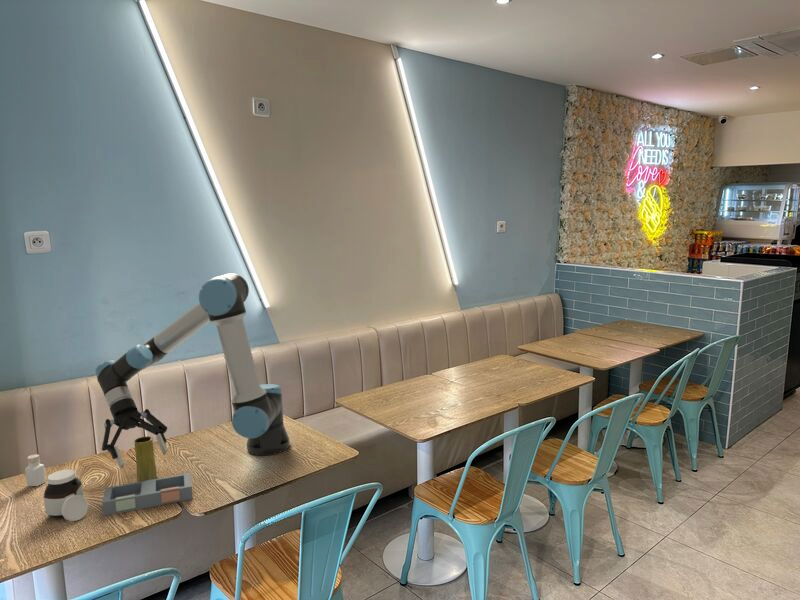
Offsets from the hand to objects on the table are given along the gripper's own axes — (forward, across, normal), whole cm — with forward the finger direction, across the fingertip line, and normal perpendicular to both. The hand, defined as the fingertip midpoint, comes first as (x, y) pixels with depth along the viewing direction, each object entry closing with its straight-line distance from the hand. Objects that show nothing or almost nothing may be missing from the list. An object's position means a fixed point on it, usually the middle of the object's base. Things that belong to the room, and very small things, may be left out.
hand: (144, 459), depth 184 cm
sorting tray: (+14, +4, +3) cm, 15 cm away
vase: (+6, 0, -6) cm, 8 cm away
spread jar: (+8, +23, -4) cm, 25 cm away
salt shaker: (-13, +24, -24) cm, 36 cm away
